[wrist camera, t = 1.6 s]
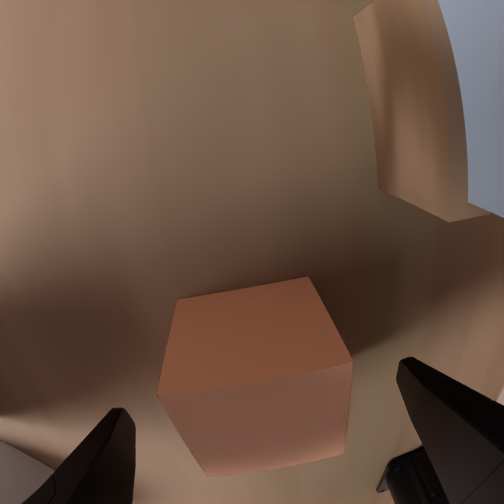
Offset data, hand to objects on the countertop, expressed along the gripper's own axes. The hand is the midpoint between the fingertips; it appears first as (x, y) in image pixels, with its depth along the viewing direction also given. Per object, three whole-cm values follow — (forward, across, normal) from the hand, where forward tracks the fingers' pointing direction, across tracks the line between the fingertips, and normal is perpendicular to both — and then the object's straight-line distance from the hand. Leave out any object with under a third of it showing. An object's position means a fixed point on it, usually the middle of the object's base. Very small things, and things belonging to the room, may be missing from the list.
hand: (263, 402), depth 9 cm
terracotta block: (+3, 0, 0) cm, 3 cm away
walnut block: (+3, -8, -8) cm, 12 cm away
